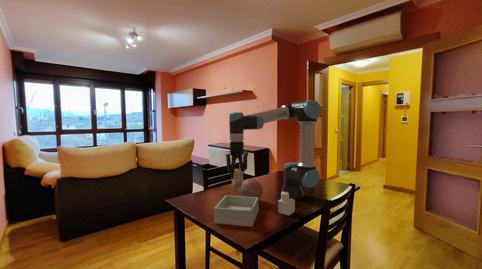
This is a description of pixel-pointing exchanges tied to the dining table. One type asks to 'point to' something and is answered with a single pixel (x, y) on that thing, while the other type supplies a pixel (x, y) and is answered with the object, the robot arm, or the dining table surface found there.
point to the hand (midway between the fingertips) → (237, 183)
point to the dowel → (237, 180)
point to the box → (236, 210)
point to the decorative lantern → (251, 189)
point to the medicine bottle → (286, 203)
